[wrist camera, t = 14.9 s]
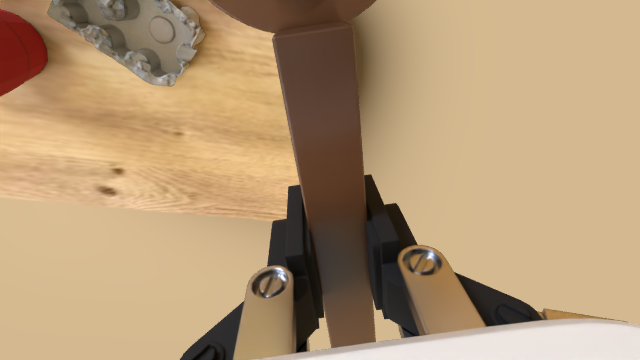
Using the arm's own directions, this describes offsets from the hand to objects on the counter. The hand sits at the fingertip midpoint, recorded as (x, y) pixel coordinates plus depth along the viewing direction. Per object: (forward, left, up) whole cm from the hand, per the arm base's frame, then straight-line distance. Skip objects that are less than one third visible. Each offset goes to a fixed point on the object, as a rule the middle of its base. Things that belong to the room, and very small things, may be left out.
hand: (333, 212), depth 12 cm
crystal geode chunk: (-8, -15, -23) cm, 29 cm away
